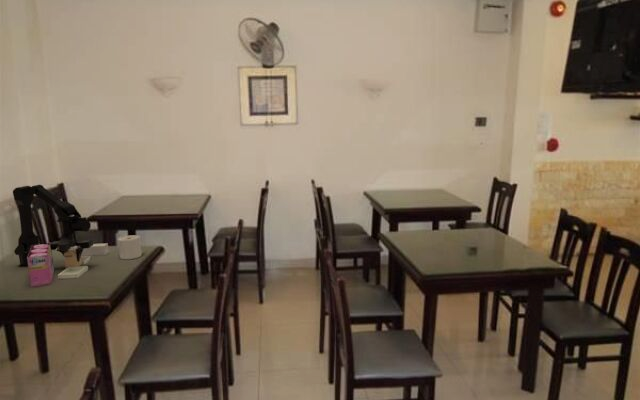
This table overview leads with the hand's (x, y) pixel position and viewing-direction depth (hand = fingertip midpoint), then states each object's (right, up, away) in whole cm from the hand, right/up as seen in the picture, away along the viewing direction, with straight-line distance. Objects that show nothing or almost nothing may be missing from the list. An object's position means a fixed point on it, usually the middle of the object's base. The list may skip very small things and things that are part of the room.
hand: (73, 261), depth 224 cm
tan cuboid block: (0, -2, +1) cm, 3 cm away
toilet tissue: (+21, 0, +16) cm, 26 cm away
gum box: (-7, -6, -12) cm, 15 cm away
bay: (-1, 0, +14) cm, 14 cm away
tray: (+5, -5, -9) cm, 11 cm away
